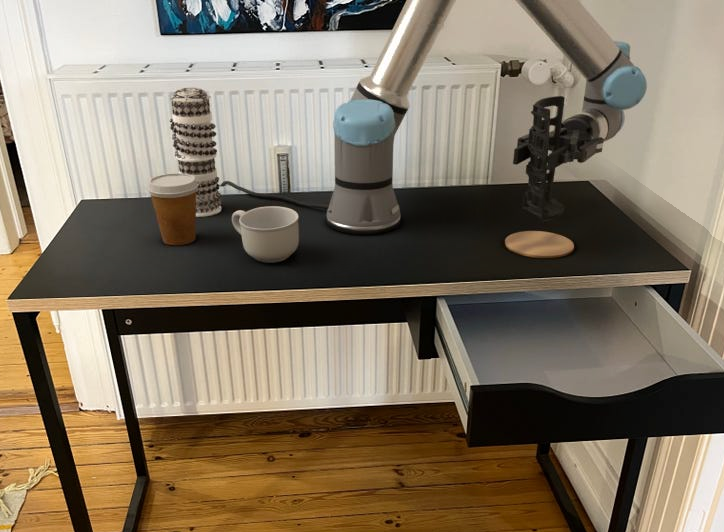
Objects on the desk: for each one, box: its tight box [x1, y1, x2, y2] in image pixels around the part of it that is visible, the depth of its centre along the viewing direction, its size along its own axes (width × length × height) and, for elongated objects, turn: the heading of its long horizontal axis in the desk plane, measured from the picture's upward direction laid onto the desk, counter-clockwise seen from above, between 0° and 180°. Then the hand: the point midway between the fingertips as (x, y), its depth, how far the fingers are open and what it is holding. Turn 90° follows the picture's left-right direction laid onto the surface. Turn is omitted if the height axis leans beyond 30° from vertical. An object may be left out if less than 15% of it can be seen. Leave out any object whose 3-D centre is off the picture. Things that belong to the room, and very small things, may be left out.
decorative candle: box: [169, 87, 222, 218], centre depth 159 cm, size 9×9×25 cm
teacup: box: [231, 205, 300, 264], centre depth 141 cm, size 14×11×8 cm
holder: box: [522, 95, 566, 222], centre depth 138 cm, size 11×8×20 cm
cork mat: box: [504, 230, 575, 259], centre depth 147 cm, size 13×13×1 cm
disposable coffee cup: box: [146, 172, 198, 246], centre depth 147 cm, size 10×10×12 cm
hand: (532, 159), depth 134 cm, fingers closed on holder, 6 cm apart
